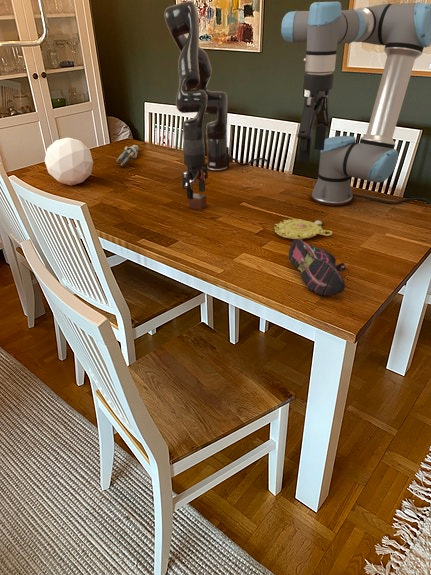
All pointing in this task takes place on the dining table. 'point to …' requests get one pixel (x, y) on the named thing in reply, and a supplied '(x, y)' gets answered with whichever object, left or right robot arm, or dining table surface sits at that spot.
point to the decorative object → (300, 229)
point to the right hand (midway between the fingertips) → (311, 155)
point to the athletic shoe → (317, 268)
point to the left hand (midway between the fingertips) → (196, 195)
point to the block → (198, 201)
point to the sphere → (69, 161)
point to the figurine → (128, 154)
